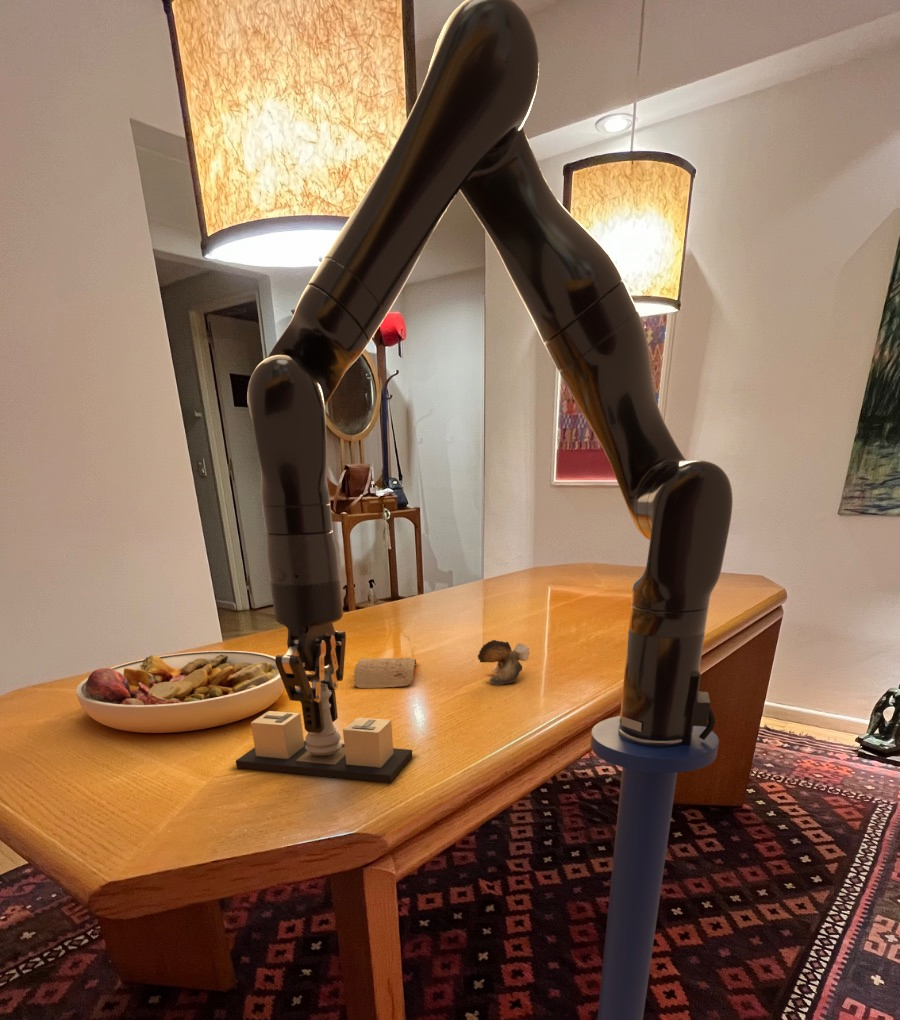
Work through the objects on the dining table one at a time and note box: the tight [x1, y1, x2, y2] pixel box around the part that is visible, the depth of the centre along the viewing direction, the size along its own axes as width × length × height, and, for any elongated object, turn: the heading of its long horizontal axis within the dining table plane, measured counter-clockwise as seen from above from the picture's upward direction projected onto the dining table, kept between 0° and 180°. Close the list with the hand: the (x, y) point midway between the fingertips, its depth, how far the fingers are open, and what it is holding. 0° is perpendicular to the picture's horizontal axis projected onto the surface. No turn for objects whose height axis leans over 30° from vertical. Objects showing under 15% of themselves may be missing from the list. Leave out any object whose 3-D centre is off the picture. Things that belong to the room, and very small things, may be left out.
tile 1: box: [250, 710, 305, 759], centre depth 83 cm, size 4×4×4 cm
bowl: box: [75, 650, 286, 734], centre depth 103 cm, size 30×30×8 cm
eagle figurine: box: [477, 639, 530, 686], centre depth 113 cm, size 8×7×9 cm
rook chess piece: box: [304, 683, 343, 755], centre depth 81 cm, size 4×4×8 cm
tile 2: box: [342, 717, 394, 768], centre depth 80 cm, size 4×4×4 cm
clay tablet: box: [353, 657, 417, 689], centre depth 117 cm, size 14×10×3 cm
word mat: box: [235, 740, 413, 784], centre depth 83 cm, size 20×8×1 cm, turn 75°
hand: (321, 725), depth 81 cm, fingers closed on rook chess piece, 3 cm apart
